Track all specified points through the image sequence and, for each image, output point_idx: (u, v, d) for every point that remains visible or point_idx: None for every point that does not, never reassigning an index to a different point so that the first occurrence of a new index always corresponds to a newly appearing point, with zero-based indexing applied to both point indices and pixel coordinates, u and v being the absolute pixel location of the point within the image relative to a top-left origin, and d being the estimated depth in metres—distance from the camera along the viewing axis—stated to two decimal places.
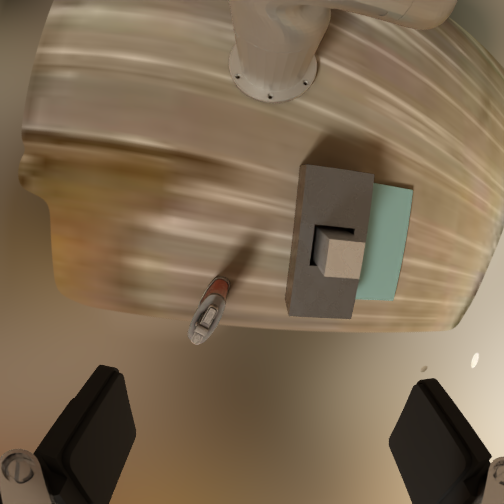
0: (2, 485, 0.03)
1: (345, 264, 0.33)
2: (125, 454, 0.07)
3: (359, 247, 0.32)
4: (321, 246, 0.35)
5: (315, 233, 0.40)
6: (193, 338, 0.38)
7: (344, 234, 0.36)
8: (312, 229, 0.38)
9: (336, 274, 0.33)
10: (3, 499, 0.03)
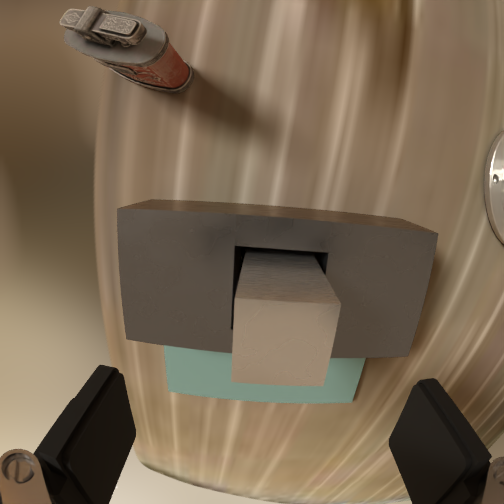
0: (2, 485, 0.03)
1: (271, 348, 0.12)
2: (125, 454, 0.07)
3: (312, 376, 0.13)
4: (294, 275, 0.15)
5: (299, 253, 0.19)
6: (73, 11, 0.11)
7: None
8: (317, 248, 0.17)
9: (240, 328, 0.12)
10: (3, 499, 0.03)
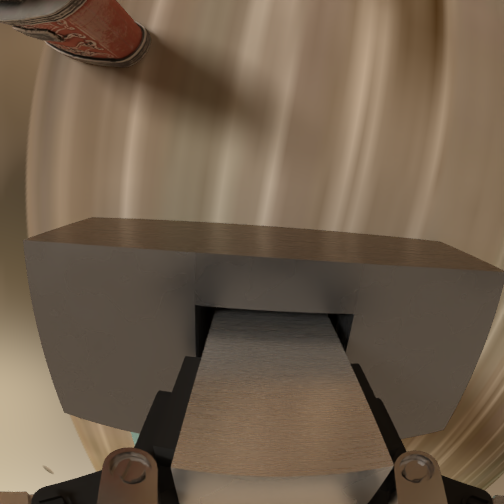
0: (103, 480, 0.04)
1: None
2: None
3: None
4: (299, 375, 0.07)
5: None
6: None
7: None
8: (336, 307, 0.10)
9: (192, 500, 0.05)
10: (100, 495, 0.04)
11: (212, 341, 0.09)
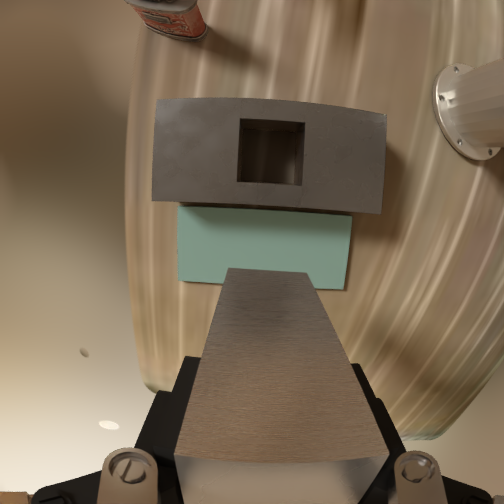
0: (103, 479, 0.04)
1: None
2: None
3: None
4: (297, 368, 0.08)
5: (302, 304, 0.12)
6: None
7: None
8: (297, 119, 0.23)
9: (194, 489, 0.05)
10: (100, 495, 0.04)
11: (213, 335, 0.09)
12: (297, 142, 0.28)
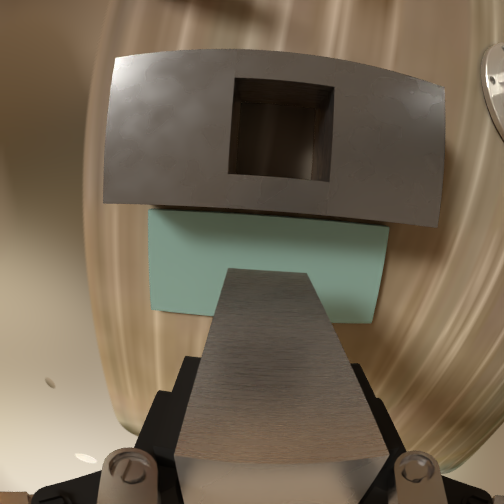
0: (103, 480, 0.04)
1: None
2: None
3: None
4: (297, 368, 0.08)
5: (302, 305, 0.12)
6: None
7: None
8: (322, 81, 0.14)
9: (194, 490, 0.05)
10: (100, 495, 0.04)
11: (213, 336, 0.09)
12: (317, 121, 0.19)
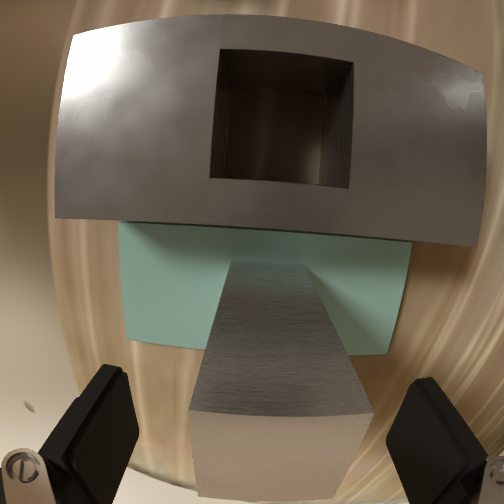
0: (6, 484, 0.03)
1: (255, 469, 0.06)
2: (129, 453, 0.07)
3: (318, 491, 0.07)
4: (294, 343, 0.09)
5: (299, 292, 0.13)
6: None
7: None
8: (337, 55, 0.10)
9: (204, 447, 0.06)
10: (7, 498, 0.03)
11: (220, 316, 0.10)
12: (327, 111, 0.15)
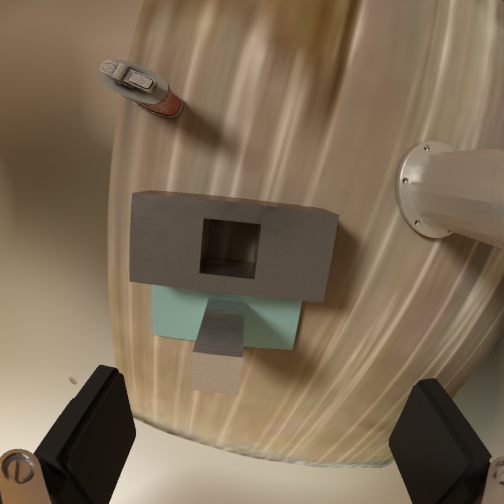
0: (2, 485, 0.03)
1: (210, 374, 0.25)
2: (125, 454, 0.07)
3: (232, 389, 0.25)
4: (226, 336, 0.27)
5: (235, 317, 0.32)
6: (109, 63, 0.21)
7: None
8: (254, 221, 0.28)
9: (195, 365, 0.24)
10: (3, 499, 0.03)
11: (202, 326, 0.29)
12: None
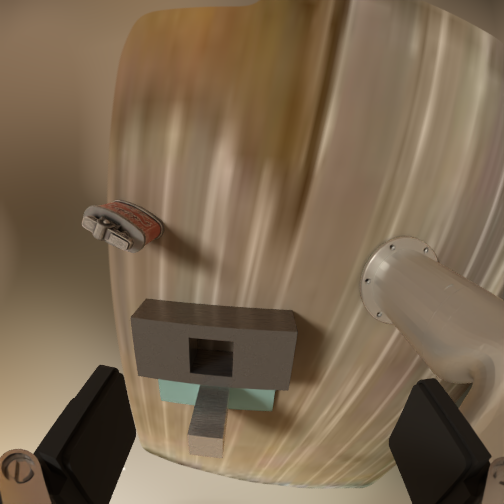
0: (2, 485, 0.03)
1: (201, 447, 0.31)
2: (125, 454, 0.07)
3: (217, 455, 0.31)
4: (212, 419, 0.34)
5: (221, 398, 0.38)
6: (88, 219, 0.28)
7: None
8: (228, 339, 0.35)
9: (190, 441, 0.31)
10: (3, 499, 0.03)
11: (195, 409, 0.35)
12: None
